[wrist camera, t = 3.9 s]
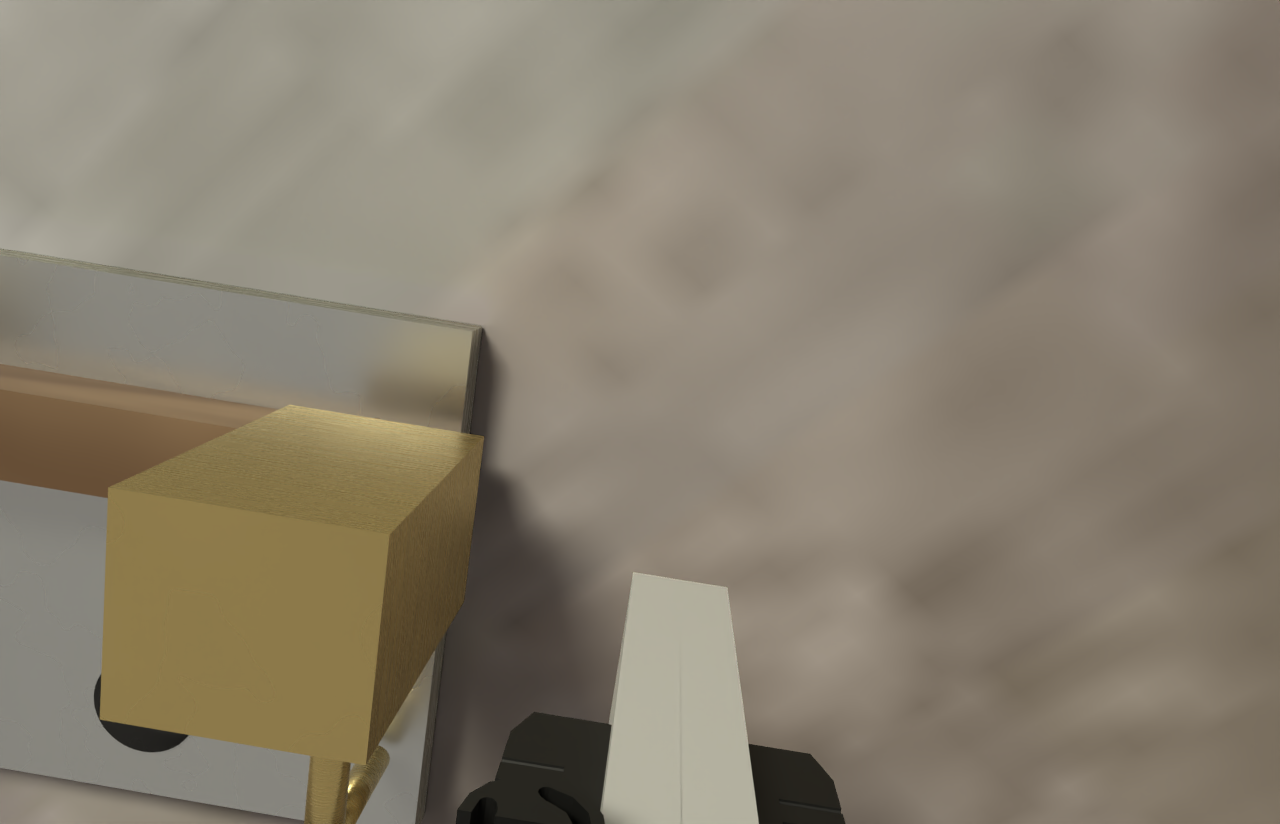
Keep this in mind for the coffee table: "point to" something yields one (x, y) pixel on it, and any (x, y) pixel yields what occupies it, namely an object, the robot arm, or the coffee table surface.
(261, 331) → the hole plate
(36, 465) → the beam
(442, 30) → the coffee table surface
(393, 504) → the slider leg
